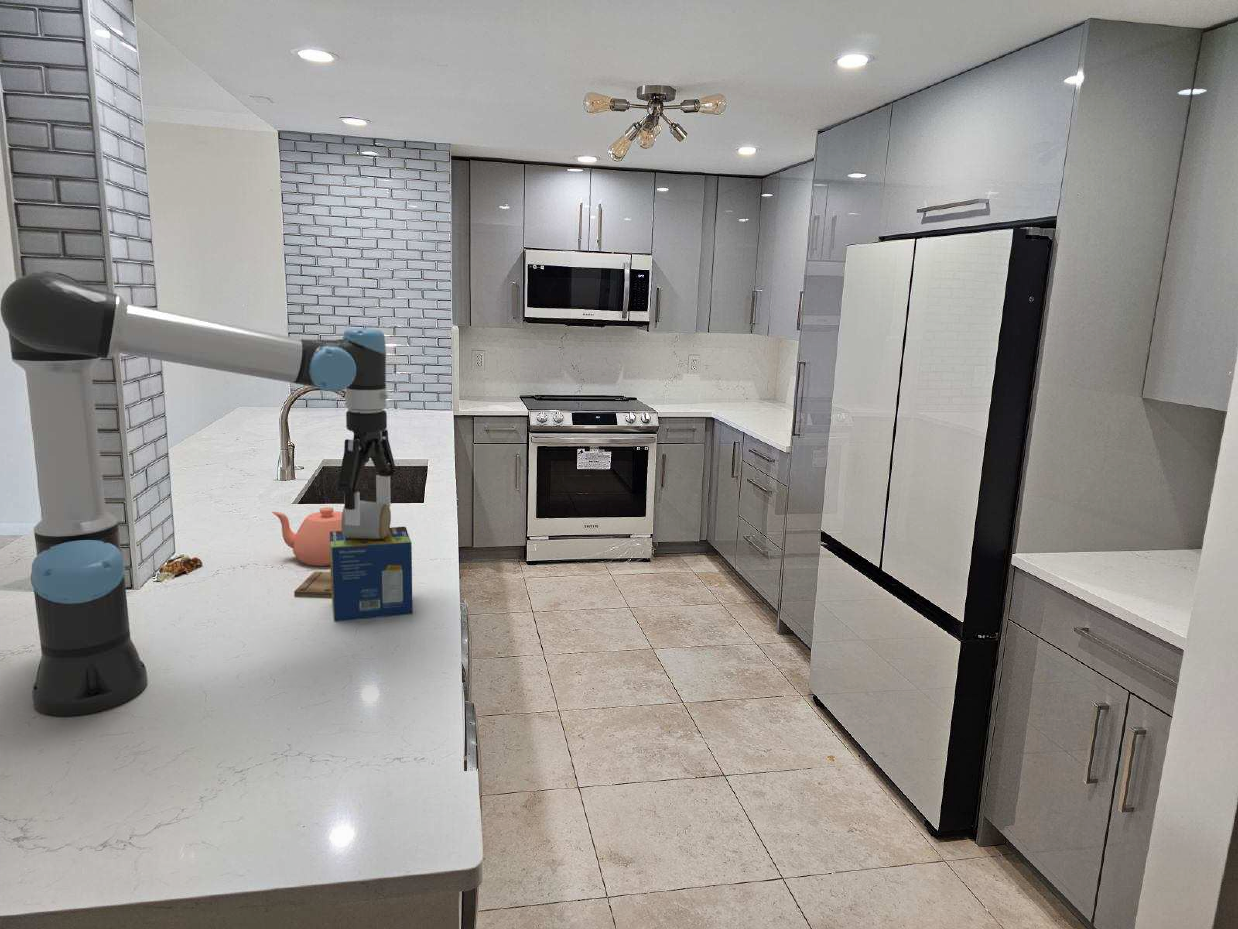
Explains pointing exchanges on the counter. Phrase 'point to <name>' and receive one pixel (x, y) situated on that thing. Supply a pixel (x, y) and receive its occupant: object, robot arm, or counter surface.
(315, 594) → the walnut board
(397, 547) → the protein box
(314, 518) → the teapot
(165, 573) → the grilled chicken meal
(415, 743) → the counter surface
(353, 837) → the counter surface
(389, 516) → the ceramic mug
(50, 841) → the counter surface
